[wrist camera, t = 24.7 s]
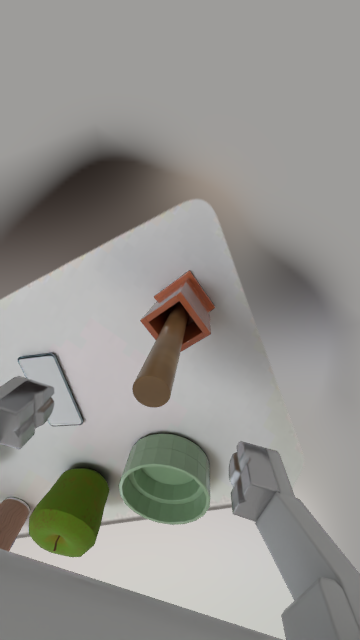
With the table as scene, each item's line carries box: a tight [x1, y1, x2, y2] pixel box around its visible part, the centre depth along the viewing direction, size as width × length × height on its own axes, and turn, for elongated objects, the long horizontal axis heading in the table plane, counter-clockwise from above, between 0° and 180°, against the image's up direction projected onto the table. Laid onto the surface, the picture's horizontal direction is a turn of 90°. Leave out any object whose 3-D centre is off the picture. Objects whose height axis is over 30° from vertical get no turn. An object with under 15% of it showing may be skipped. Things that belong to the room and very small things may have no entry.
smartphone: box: [18, 353, 83, 426], centre depth 36 cm, size 7×1×15 cm
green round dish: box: [119, 433, 210, 525], centre depth 36 cm, size 15×15×6 cm
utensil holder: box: [140, 270, 215, 352], centre depth 23 cm, size 6×6×10 cm
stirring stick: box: [133, 301, 189, 407], centre depth 19 cm, size 2×2×18 cm
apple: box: [29, 468, 109, 557], centre depth 38 cm, size 12×12×11 cm
